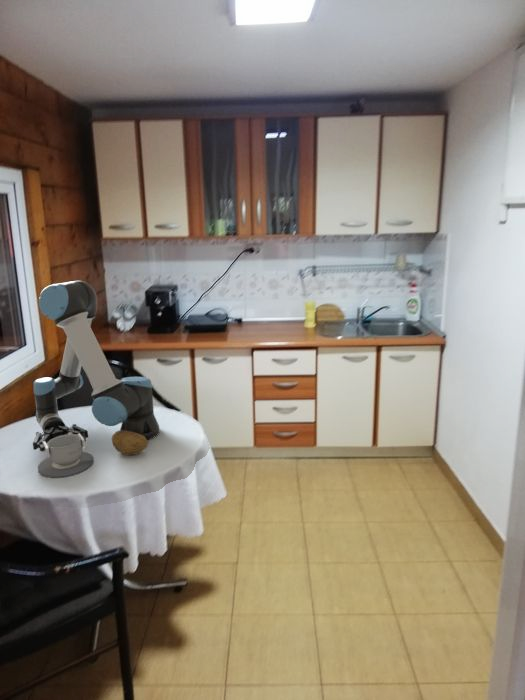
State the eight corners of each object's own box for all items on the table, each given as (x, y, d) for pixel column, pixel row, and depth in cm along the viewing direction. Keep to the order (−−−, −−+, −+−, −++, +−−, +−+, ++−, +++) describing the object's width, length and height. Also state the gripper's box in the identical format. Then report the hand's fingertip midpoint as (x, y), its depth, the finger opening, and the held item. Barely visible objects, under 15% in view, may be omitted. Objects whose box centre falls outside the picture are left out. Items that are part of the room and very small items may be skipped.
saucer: (102, 454, 179) (102, 451, 178) (78, 479, 161) (78, 476, 161) (55, 452, 181) (55, 449, 181) (27, 476, 164) (26, 473, 163)
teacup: (74, 469, 164) (72, 447, 162) (43, 468, 165) (40, 446, 163) (92, 451, 177) (90, 430, 175) (63, 450, 178) (60, 429, 176)
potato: (137, 462, 172) (135, 441, 170) (106, 455, 178) (104, 434, 176) (155, 451, 181) (153, 431, 179) (125, 444, 187) (123, 424, 185)
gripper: (86, 428, 191) (102, 449, 173) (20, 443, 179) (30, 467, 161) (84, 410, 189) (100, 429, 171) (17, 423, 177) (27, 446, 159)
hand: (66, 447), depth 166 cm, fingers closed on teacup, 11 cm apart
